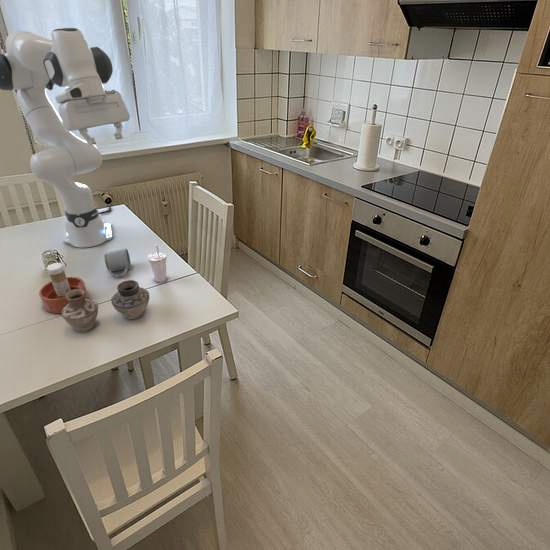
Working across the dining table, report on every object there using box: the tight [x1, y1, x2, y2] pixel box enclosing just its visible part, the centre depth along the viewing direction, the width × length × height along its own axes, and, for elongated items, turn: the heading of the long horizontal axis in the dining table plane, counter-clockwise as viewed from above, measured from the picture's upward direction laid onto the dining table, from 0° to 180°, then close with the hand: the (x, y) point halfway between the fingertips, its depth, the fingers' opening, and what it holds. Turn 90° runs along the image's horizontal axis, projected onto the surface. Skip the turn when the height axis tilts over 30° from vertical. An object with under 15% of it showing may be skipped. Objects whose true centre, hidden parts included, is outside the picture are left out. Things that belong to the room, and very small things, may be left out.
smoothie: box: [147, 244, 168, 283], centre depth 138 cm, size 6×6×14 cm
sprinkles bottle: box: [46, 262, 71, 299], centre depth 126 cm, size 5×5×14 cm
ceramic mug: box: [103, 248, 132, 279], centre depth 144 cm, size 11×8×8 cm
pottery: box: [61, 279, 150, 333], centre depth 119 cm, size 11×25×12 cm, turn 117°
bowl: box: [38, 276, 89, 314], centre depth 128 cm, size 13×13×6 cm
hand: (106, 141), depth 117 cm, fingers open, 8 cm apart
